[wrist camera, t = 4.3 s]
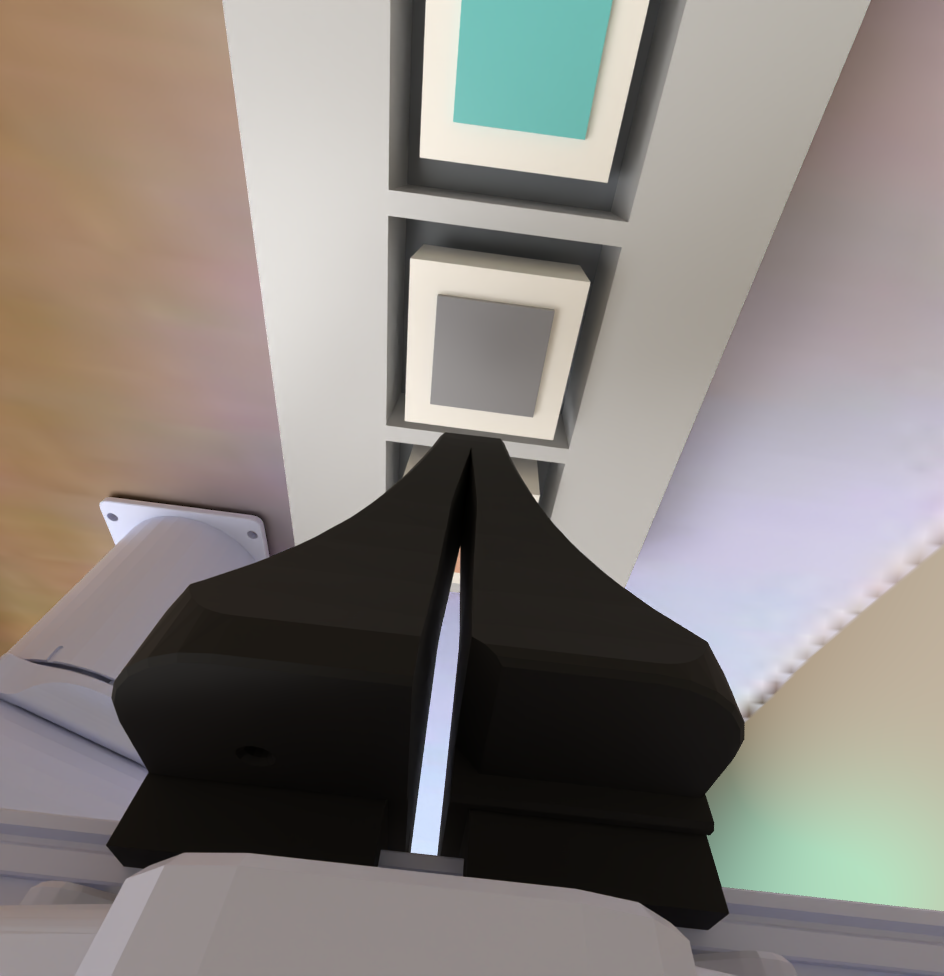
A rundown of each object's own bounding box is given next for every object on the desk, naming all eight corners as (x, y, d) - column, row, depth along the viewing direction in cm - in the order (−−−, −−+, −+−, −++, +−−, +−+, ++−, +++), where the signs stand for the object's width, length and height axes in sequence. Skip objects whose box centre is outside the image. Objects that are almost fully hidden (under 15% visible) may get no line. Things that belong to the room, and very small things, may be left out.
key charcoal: (548, 408, 17) (553, 443, 15) (416, 390, 17) (403, 423, 15) (579, 265, 15) (591, 284, 13) (423, 244, 15) (408, 259, 13)
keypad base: (601, 556, 24) (614, 612, 21) (324, 521, 24) (298, 572, 21) (842, -110, 12) (955, -200, 9) (265, -193, 12) (181, -311, 9)
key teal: (593, 178, 14) (608, 183, 12) (432, 157, 14) (418, 157, 12) (645, -59, 11) (676, -109, 9) (444, -87, 11) (429, -143, 9)
